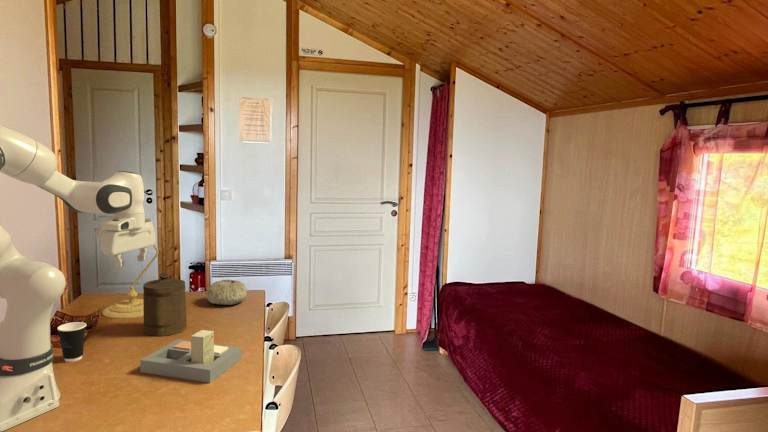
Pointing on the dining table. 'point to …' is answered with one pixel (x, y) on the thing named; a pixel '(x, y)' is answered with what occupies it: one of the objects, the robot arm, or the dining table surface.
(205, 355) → the skincare box
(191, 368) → the socket plate
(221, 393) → the dining table surface
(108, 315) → the desk lamp
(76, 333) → the dixie cup
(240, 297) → the decorative shell
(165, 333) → the brown metal canister
